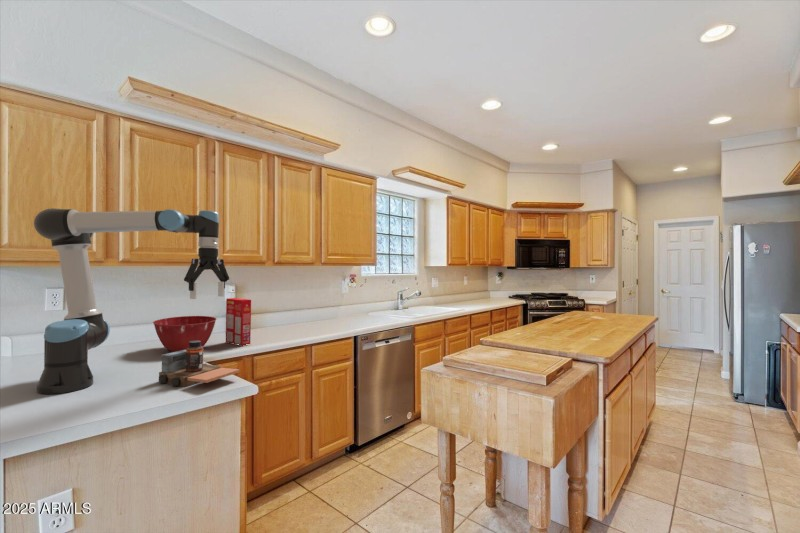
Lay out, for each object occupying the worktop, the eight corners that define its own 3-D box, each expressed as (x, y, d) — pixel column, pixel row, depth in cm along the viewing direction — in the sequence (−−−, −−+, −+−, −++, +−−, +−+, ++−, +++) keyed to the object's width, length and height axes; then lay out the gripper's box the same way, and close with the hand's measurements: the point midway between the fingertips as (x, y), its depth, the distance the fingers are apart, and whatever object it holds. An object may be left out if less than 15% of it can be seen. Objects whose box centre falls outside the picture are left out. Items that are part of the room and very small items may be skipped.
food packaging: (250, 344, 209) (251, 299, 208) (241, 346, 204) (242, 300, 204) (234, 341, 216) (234, 297, 216) (225, 342, 212) (226, 298, 212)
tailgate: (187, 382, 138) (206, 384, 134) (187, 377, 138) (206, 380, 134) (221, 371, 151) (240, 373, 147) (221, 367, 151) (239, 369, 147)
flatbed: (180, 388, 136) (180, 360, 136) (155, 382, 142) (155, 356, 142) (223, 374, 153) (223, 350, 153) (199, 370, 159) (199, 346, 159)
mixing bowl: (188, 358, 177) (189, 325, 177) (137, 353, 183) (138, 322, 183) (227, 345, 205) (227, 317, 205) (182, 342, 211) (182, 314, 211)
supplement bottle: (205, 370, 147) (206, 341, 147) (189, 373, 143) (190, 343, 143) (199, 367, 151) (199, 339, 151) (183, 370, 146) (183, 341, 146)
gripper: (187, 246, 146) (186, 300, 146) (238, 248, 169) (237, 295, 169) (174, 246, 149) (173, 299, 150) (226, 248, 172) (225, 295, 172)
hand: (207, 297), depth 159 cm, fingers open, 13 cm apart
